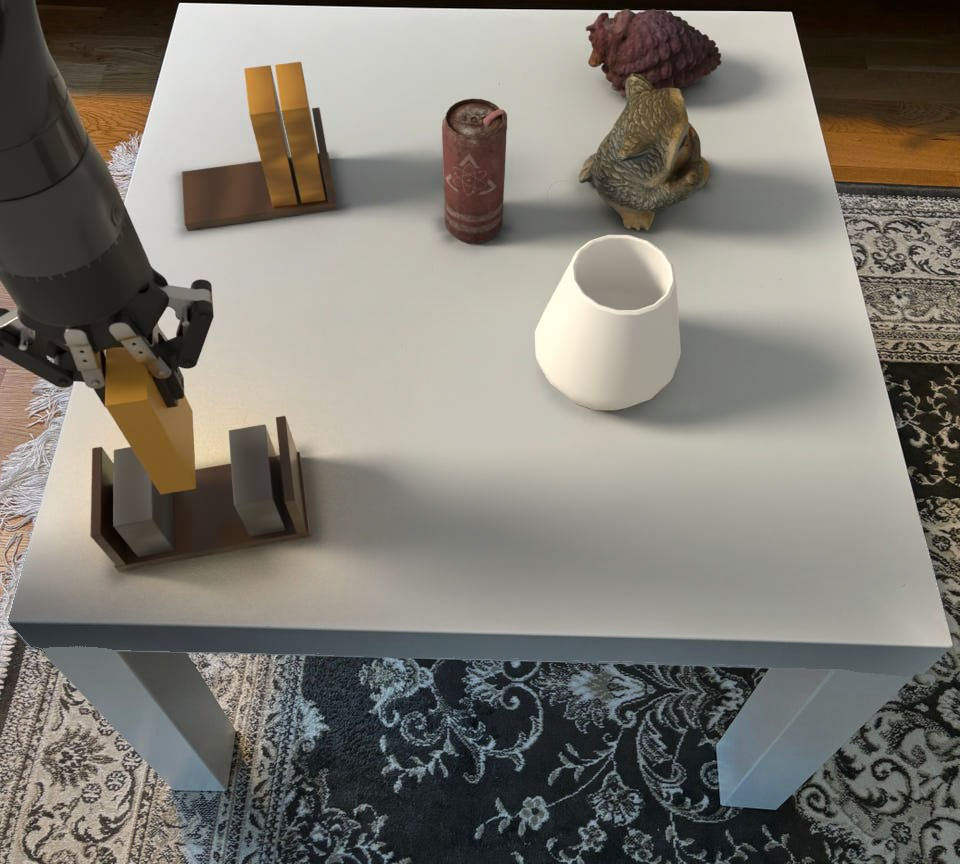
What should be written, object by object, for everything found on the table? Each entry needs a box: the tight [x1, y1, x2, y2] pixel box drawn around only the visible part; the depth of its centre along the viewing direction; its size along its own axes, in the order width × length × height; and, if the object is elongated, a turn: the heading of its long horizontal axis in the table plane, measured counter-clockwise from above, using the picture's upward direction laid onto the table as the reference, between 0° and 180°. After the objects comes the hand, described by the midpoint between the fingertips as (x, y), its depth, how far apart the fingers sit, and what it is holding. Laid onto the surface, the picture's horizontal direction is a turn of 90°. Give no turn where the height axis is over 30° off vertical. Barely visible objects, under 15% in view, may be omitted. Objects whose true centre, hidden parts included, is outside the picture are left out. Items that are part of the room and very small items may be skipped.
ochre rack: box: [181, 61, 339, 231], centre depth 91 cm, size 16×8×13 cm, turn 102°
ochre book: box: [104, 348, 196, 494], centre depth 62 cm, size 3×7×12 cm, turn 12°
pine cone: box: [585, 8, 722, 99], centre depth 103 cm, size 18×10×10 cm
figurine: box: [578, 74, 711, 232], centre depth 90 cm, size 14×15×15 cm
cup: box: [534, 234, 682, 411], centre depth 79 cm, size 13×13×14 cm
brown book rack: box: [89, 415, 312, 573], centre depth 74 cm, size 16×8×7 cm, turn 102°
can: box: [441, 98, 508, 245], centre depth 88 cm, size 6×6×14 cm
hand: (148, 400), depth 61 cm, fingers closed on ochre book, 2 cm apart
